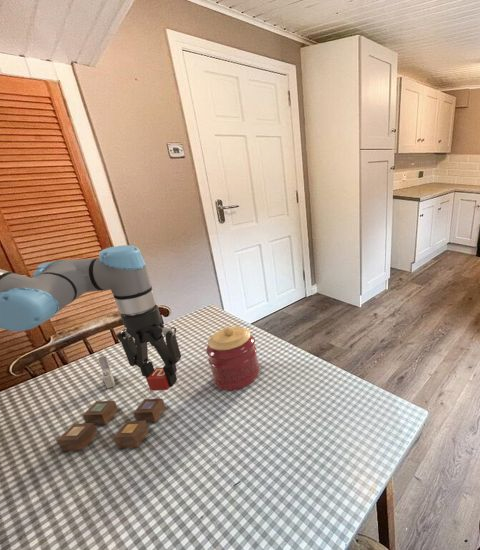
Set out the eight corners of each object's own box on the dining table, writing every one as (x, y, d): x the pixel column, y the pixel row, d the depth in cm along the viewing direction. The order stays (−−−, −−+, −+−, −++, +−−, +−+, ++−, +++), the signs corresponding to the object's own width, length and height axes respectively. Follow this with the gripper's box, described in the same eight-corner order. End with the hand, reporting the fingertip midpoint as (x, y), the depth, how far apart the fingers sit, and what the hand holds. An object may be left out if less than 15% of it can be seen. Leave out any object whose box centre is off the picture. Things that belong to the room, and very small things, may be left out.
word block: (63, 453, 69) (56, 440, 67) (79, 436, 73) (73, 423, 71) (84, 452, 69) (77, 439, 67) (99, 435, 73) (93, 422, 72)
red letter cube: (150, 390, 81) (146, 378, 79) (160, 379, 85) (156, 367, 83) (167, 390, 81) (163, 377, 79) (176, 378, 85) (172, 366, 84)
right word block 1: (118, 450, 69) (112, 437, 68) (131, 433, 74) (126, 420, 72) (138, 449, 70) (133, 436, 68) (150, 432, 74) (145, 420, 72)
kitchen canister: (222, 399, 83) (209, 346, 77) (208, 375, 92) (196, 326, 86) (267, 378, 91) (259, 328, 85) (250, 358, 100) (242, 311, 94)
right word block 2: (137, 424, 76) (133, 412, 74) (148, 410, 80) (144, 398, 78) (156, 424, 76) (151, 411, 75) (166, 409, 80) (162, 398, 79)
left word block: (87, 427, 75) (81, 415, 74) (101, 413, 79) (96, 401, 78) (106, 426, 75) (101, 414, 74) (119, 412, 80) (114, 400, 78)
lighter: (115, 387, 88) (106, 365, 85) (107, 390, 87) (98, 367, 84) (113, 375, 93) (105, 353, 90) (106, 377, 92) (97, 355, 89)
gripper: (183, 300, 78) (202, 373, 87) (112, 302, 77) (139, 375, 86) (167, 314, 71) (189, 392, 80) (89, 317, 70) (120, 395, 79)
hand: (163, 383), depth 83 cm, fingers closed on red letter cube, 4 cm apart
